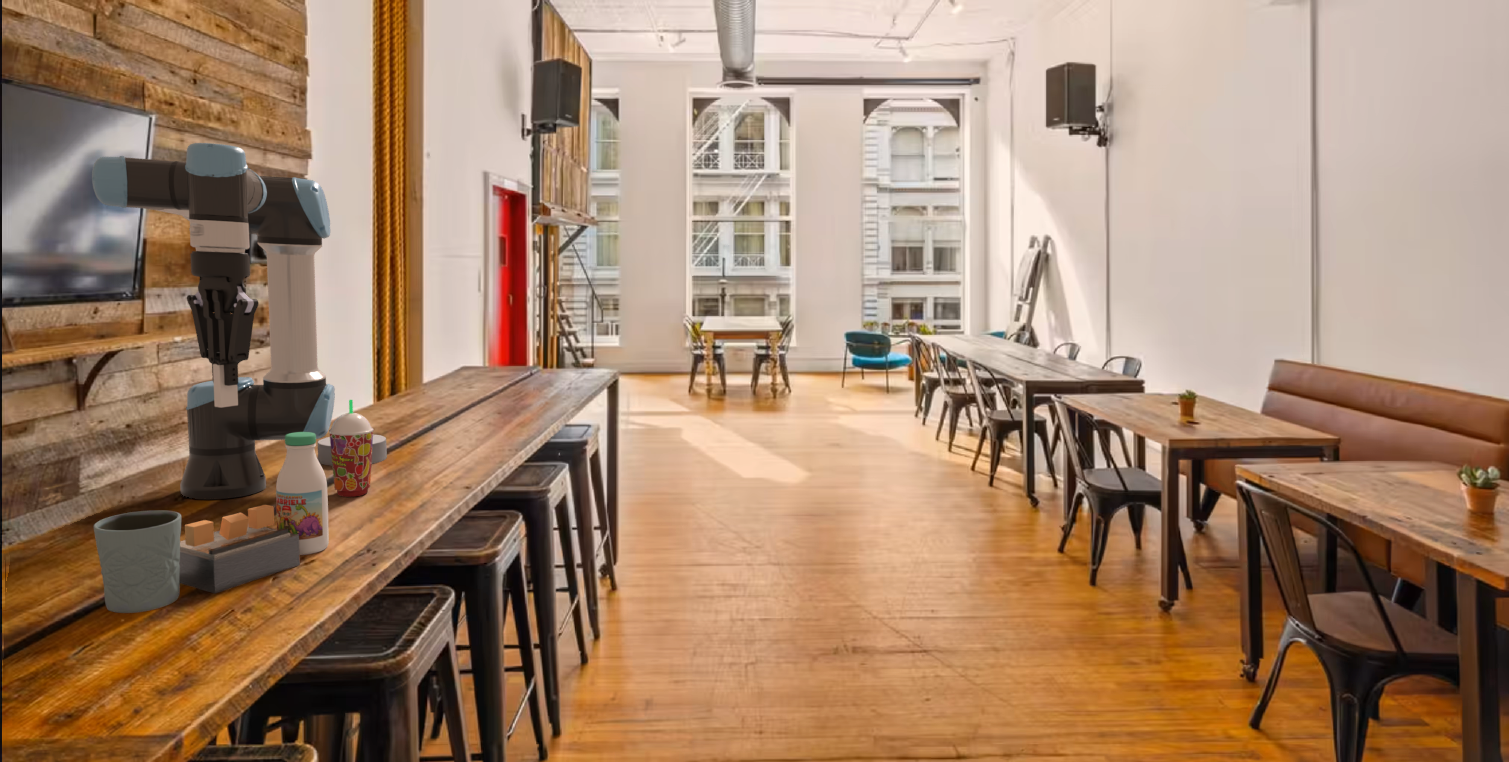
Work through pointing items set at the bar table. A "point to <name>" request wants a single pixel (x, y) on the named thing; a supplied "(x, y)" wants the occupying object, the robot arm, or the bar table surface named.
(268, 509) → the tan wooden block
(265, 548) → the gray rectangular tray
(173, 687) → the bar table surface
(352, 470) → the smoothie
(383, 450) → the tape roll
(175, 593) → the gray green pot
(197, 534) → the orange tall rectangular block
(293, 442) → the milk bottle
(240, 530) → the small orange block
